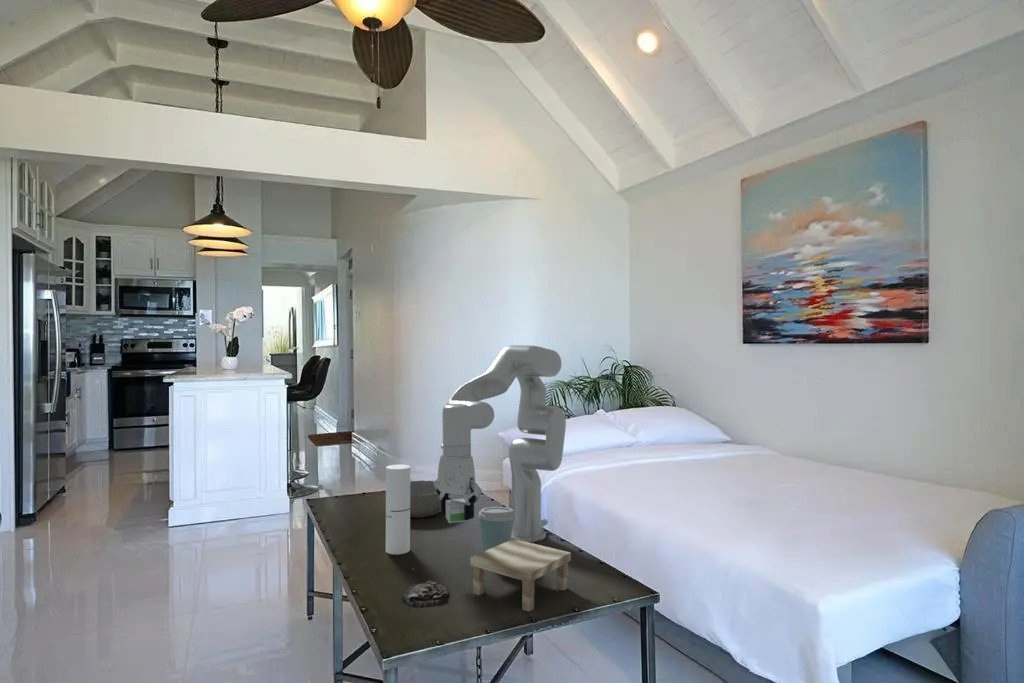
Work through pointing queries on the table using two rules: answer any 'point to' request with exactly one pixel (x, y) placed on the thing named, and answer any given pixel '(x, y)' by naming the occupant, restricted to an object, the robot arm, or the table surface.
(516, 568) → the footstool
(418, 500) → the ceramic bowl
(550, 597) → the table surface
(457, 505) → the small box
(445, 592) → the dark grey rock
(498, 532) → the disposable coffee cup
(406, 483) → the cylindrical container
